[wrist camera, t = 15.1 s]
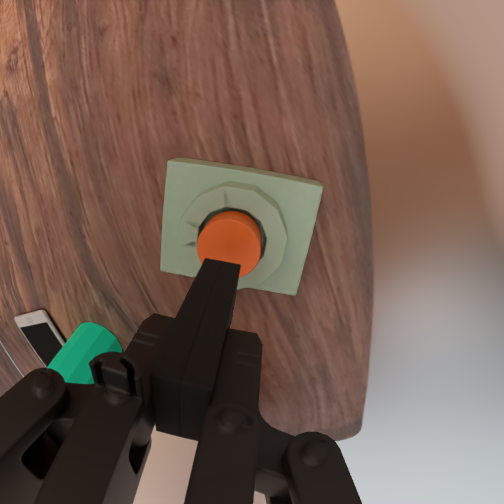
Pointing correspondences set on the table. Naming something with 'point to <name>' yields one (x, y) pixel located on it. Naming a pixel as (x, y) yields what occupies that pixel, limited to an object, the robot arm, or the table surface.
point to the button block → (245, 201)
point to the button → (231, 240)
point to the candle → (83, 352)
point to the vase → (170, 471)
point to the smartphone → (41, 334)
